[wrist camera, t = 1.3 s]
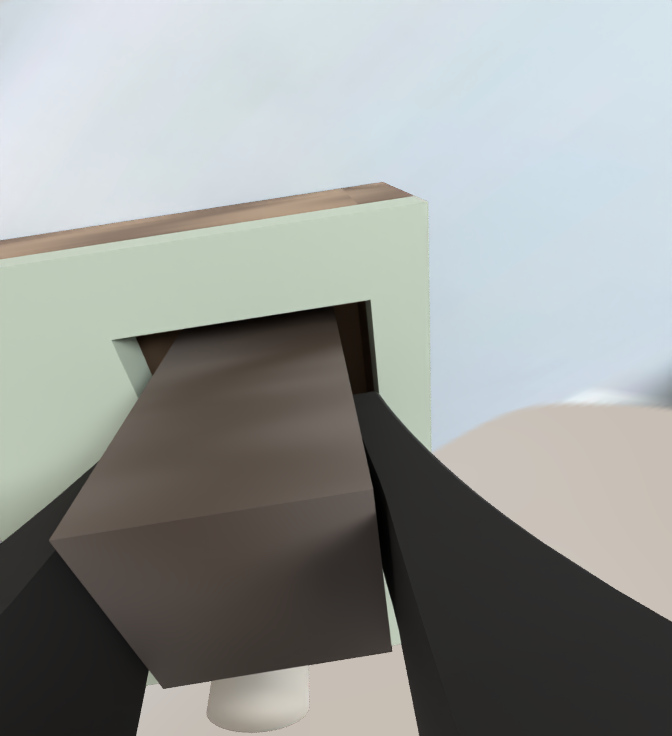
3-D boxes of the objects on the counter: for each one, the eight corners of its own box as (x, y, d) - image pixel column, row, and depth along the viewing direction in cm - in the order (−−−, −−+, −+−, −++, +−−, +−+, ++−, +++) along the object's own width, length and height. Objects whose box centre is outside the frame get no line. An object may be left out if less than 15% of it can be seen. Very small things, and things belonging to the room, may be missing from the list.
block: (328, 286, 12) (373, 488, 5) (344, 396, 14) (392, 651, 7) (196, 306, 12) (49, 541, 5) (231, 414, 14) (163, 688, 7)
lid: (414, 195, 8) (481, 225, 5) (426, 612, 16) (456, 719, 13) (-155, 283, 8) (-423, 364, 5) (138, 659, 16) (101, 777, 13)
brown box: (382, 181, 11) (413, 195, 8) (405, 537, 19) (425, 609, 16) (-30, 245, 11) (-151, 281, 8) (164, 576, 19) (139, 656, 16)
